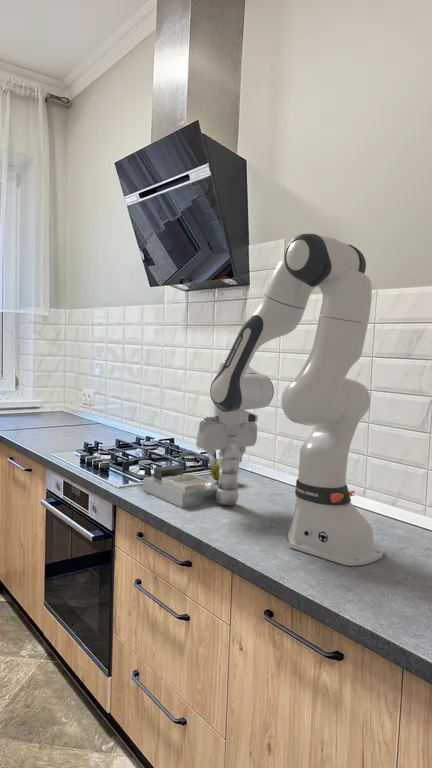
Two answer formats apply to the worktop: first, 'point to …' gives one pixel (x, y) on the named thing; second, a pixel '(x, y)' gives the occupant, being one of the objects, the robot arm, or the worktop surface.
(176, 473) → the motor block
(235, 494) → the plastic bottle
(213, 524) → the worktop surface
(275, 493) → the worktop surface
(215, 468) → the apple
